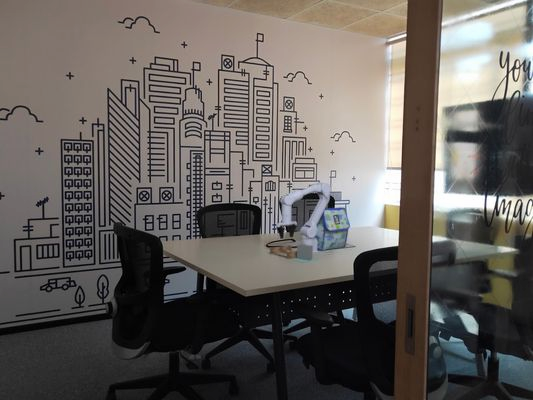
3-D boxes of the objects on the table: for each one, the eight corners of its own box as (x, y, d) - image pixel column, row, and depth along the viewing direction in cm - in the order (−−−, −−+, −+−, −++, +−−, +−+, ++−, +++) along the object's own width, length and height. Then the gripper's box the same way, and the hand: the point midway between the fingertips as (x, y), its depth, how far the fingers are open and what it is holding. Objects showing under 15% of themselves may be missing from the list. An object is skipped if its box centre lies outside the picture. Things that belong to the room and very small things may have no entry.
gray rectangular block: (300, 257, 252) (300, 243, 251) (312, 259, 247) (312, 245, 246) (296, 258, 249) (297, 244, 248) (308, 260, 244) (309, 246, 243)
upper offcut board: (291, 252, 267) (291, 250, 267) (302, 255, 259) (302, 253, 259) (286, 252, 265) (286, 251, 265) (297, 256, 257) (297, 254, 257)
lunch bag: (324, 252, 273) (330, 211, 268) (306, 244, 285) (311, 205, 280) (348, 249, 286) (354, 210, 281) (330, 241, 299) (335, 204, 294)
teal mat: (307, 257, 255) (307, 256, 255) (318, 260, 248) (318, 259, 248) (291, 260, 247) (291, 259, 247) (302, 263, 240) (302, 262, 240)
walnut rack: (290, 251, 271) (290, 245, 270) (308, 256, 258) (308, 249, 258) (270, 254, 261) (270, 247, 260) (288, 259, 248) (288, 252, 248)
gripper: (291, 213, 270) (291, 235, 271) (273, 215, 261) (273, 238, 262) (299, 214, 265) (298, 237, 266) (280, 216, 256) (280, 240, 257)
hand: (286, 237), depth 264 cm, fingers open, 7 cm apart
